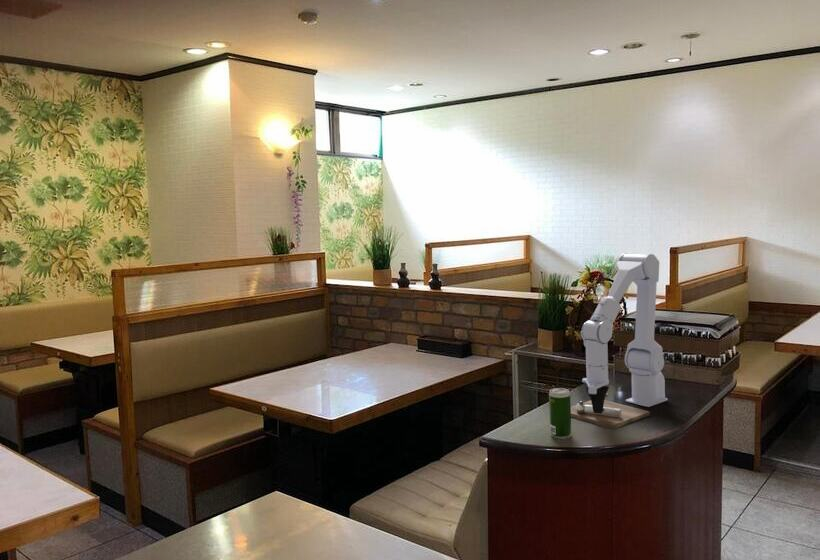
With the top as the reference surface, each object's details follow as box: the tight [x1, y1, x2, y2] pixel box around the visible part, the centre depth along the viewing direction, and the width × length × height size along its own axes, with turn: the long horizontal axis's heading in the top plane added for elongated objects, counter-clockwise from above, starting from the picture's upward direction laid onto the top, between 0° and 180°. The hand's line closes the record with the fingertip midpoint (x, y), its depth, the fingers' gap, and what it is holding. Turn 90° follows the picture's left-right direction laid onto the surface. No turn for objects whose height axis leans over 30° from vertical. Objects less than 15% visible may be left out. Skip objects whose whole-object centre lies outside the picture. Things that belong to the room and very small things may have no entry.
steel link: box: [575, 400, 621, 417], centre depth 180 cm, size 12×3×3 cm, turn 55°
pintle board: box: [571, 392, 651, 430], centre depth 184 cm, size 16×18×4 cm
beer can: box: [548, 387, 572, 440], centre depth 169 cm, size 5×5×12 cm
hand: (598, 412), depth 179 cm, fingers closed, pressing on steel link
